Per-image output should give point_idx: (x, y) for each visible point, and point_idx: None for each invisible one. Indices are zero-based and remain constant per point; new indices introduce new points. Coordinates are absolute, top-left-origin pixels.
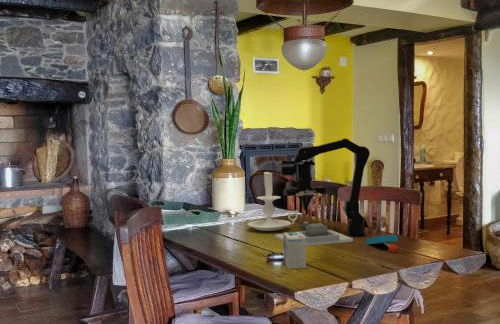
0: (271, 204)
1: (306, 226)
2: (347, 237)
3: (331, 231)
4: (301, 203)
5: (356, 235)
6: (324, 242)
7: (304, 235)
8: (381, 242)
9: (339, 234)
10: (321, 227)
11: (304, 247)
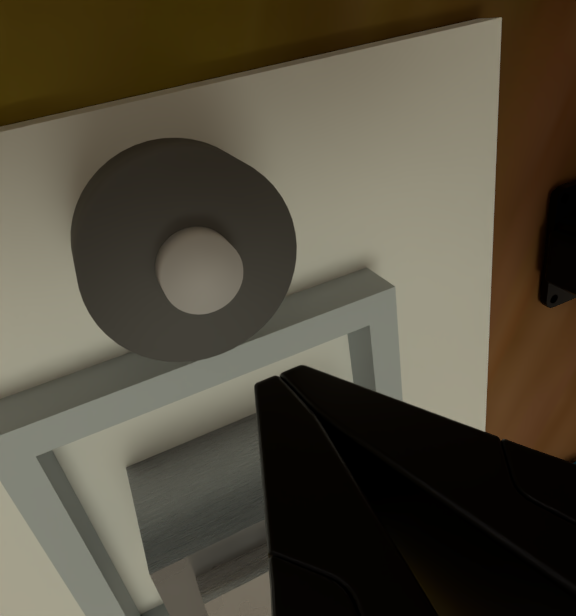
0: None
1: (165, 576)
2: (470, 424)
3: (467, 150)
4: (268, 544)
5: (568, 300)
6: None
7: (111, 598)
8: None
9: (469, 311)
10: None
11: None
